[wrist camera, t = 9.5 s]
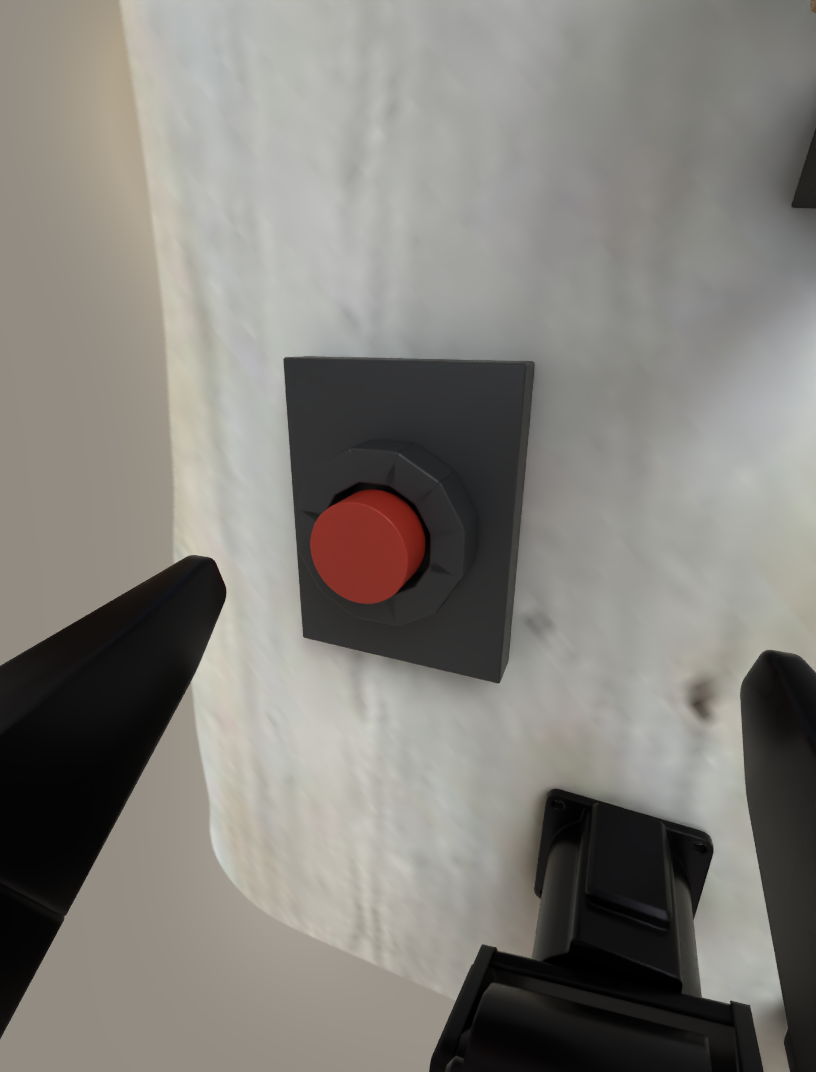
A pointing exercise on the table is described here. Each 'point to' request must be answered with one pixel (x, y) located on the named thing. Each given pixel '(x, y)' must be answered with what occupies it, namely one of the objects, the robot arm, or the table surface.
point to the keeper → (807, 181)
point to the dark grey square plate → (416, 497)
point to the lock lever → (813, 6)
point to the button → (368, 546)
